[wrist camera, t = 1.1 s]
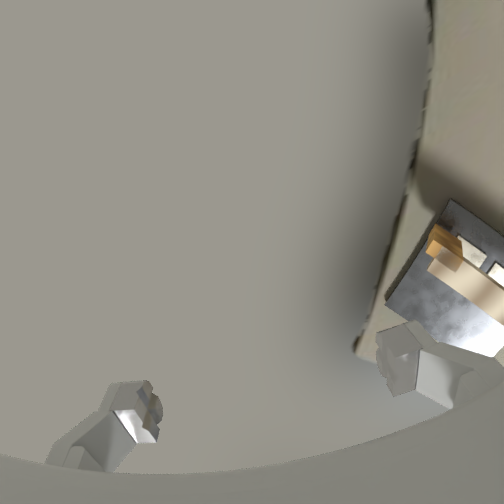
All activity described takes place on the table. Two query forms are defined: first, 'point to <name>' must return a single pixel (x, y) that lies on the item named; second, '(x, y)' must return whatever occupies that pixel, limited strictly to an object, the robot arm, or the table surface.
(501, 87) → the table surface
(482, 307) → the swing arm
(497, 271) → the base plate
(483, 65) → the table surface
